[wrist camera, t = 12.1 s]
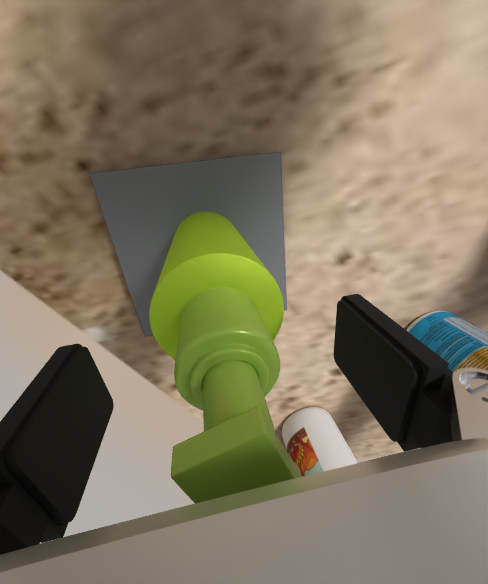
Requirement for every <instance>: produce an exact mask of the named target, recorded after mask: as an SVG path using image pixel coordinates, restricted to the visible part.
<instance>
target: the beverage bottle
mask: <svg viewBox="0 0 488 584" xmlns="http://www.w3.org/2000/svg"><path fill="white" fill-rule="evenodd" d="M406 331H408V332H409V333H410V334H412V335H413V336H414V337H415V338H417V339H418V340H419V341H421V342H422V343H423V344H425V345H426V346H427V347H429V348H430V349H431V350H432V351H434V352H435V353H436V354H438V355H439V356H440V357H442V358H443V359H444V360H445V361H447V362H448V363H449V365H448V368H449V369H450V370H451V371H452V372H455V371H456V370H458V369H461V368H478V369H483V370H487V371H488V333H487V332H486V331H484V330H482V329H480V328H478V327H476V326H474V325H472V324H470V323H469V322H467V321H465V320H463V319H461V318H460V317H458V316H456V315H454V314H452V313H450V312H448V311H433V312H429V313H427V314H424V315H422V316H421V317H419V318H418V319H416V320H415V321H414V322H413V323H412V324H411V325H410V326H409V327H408V328H407V330H406Z"/></svg>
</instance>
